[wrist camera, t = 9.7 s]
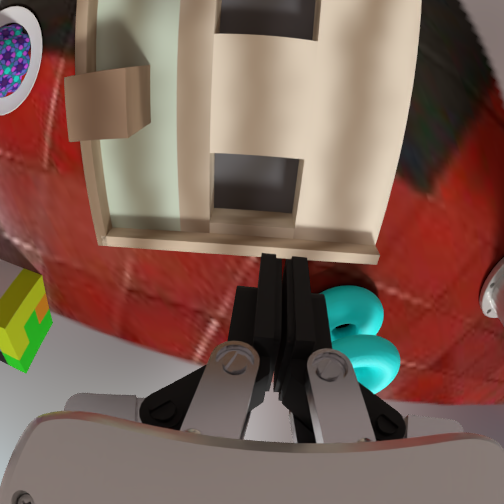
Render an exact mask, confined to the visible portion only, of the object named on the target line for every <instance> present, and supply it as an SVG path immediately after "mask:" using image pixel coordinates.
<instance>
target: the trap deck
mask: <svg viewBox="0 0 504 504" xmlns="http://www.w3.org/2000/svg"><path fill="white" fill-rule="evenodd" d="M420 17H421V0H77V11H76V31H75V75H79V74H84V73H89V72H95V71H101V70H108V69H116V68H124V67H133V66H143V65H150V105H151V123H150V124H148V125H147V126H145V127H144V128H142V129H141V130H139V131H138V132H136V133H135V134H133V135H132V136H130V137H129V138H123V139H103V140H88V141H80V144H81V152H82V160H83V167H84V174H85V180H86V186H87V192H88V198H89V203H90V208H91V213H92V218H93V223H94V228H95V232H96V237H97V241H98V245H102V246H116V247H129V248H143V249H157V250H171V251H185V252H199V253H213V254H227V255H241V256H256V257H261V254H262V253H269V254H276V258H285V259H291V258H292V256H297V257H307V260H314V261H329V262H344V263H360V264H375V265H377V262H378V259H379V257H380V254H379V252H378V250H377V248H376V246H375V244H376V241H377V238H378V234H379V231H380V228H381V224H382V221H383V218H384V214H385V211H386V207H387V203H388V200H389V196H390V192H391V188H392V184H393V181H394V177H395V172H396V168H397V164H398V160H399V155H400V151H401V146H402V142H403V137H404V132H405V127H406V122H407V117H408V111H409V106H410V100H411V94H412V88H413V81H414V74H415V67H416V59H417V50H418V41H419V30H420Z"/></svg>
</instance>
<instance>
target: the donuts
mask: <svg viewBox="0 0 504 504" xmlns="http://www.w3.org/2000/svg"><path fill="white" fill-rule="evenodd" d="M319 294H324V295H325V299H326V306H327V313H328V320H329V327H330V335H331V342H332V349H334V350H338V351H340V352H341V353H343V354H345V355H346V356H347V357H348V358H349V360H350V361H351V363H352V366H353V369H354V372H355V375H356V378H357V381H358V382H360V383H361V384H362V385H363V386H365V387H366V388H367V389H369V390H370V391H371V392H373V393H374V394H375V393H377V392H379V391H381V390H382V389H384V388H385V387H386V386H388V385H389V384H390V383H391V382H392V380H393V379H394V378H395V376H396V375H397V373H398V371H399V367H400V355H399V352H398V350H397V349H396V347H395V346H394V345H393V344H392V343H391V342H390V341H388V340H387V339H384V338H382V337H379V336H376V334H377V332H378V331H379V329H380V327H381V325H382V322H383V317H384V312H383V307H382V304H381V302H380V300H379V299H378V297H377V296H376V295H375V294H374V293H372V292H371V291H369V290H367V289H365V288H363V287H359V286H352V285H345V286H338V287H333V288H330V289H327V290H325V291H323V292H321V293H319ZM343 324H350V325H349V326H346V327H343V328H337V329H336V327H337V326H340V325H343Z"/></svg>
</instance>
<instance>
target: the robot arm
mask: <svg viewBox="0 0 504 504" xmlns="http://www.w3.org/2000/svg"><path fill="white" fill-rule="evenodd" d="M479 303H480V307H481V309H482V311H483V313H484V314H485V315H486V316H488V317H491V318H497V317H498V318H499V319H500V321H501V323H502V324H503V326H504V257H503V258H502V259H501V260H500V261H499V262H498V264H497V265H496V266H495V267H494V268H493V270H492V271H491V272H490V274H489V275H488V277H487V279H486V281H485V282H484V285H483V287H482V290H481V293H480V299H479ZM273 373H274V388H273V389H274V392H279V400H280V401H282V404H283V405H284V406H285V407H286V408H287V409H289V418H290V425H291V431H292V438H293V443H280V442H264V441H252V440H244V436H245V432H246V429H247V426H248V422H249V418H250V415H251V410H252V409H254V408H255V407H257V406H258V405H260V404H261V403H262V402H263V400H264V396H265V391H269V389H270V385H271V381H272V377H273ZM0 504H504V449H503V448H502V446H501V445H500V444H499V443H498V442H497V441H495V440H493V439H491V438H488V437H486V436H483V435H479V434H473V433H464V430H463V428H462V426H461V425H460V424H459V423H458V422H456V421H454V420H451V419H441V418H432V417H424V416H415V415H409V414H408V415H407V416H406V417H403V416H401V414H400V413H399V412H398V411H396V410H395V409H394V408H392V407H391V406H390V405H388V404H387V403H386V402H384V401H383V400H382V399H380V398H379V397H378V396H376V395H375V394H374V393H373V392H371V391H370V390H369V389H367V388H366V387H365V386H363V385H362V384H361V383H360V382H358V381H357V378H356V375H355V372H354V369H353V366H352V363H351V361H350V360H349V358H348V357H347V356H346V355H345V354H343V353H341V352H340V351H338V350H334V349H332V342H331V335H330V327H329V320H328V313H327V306H326V299H325V295H324V294H317V293H311V288H310V278H309V270H308V261H307V257H297V256H292V258H291V260H288V259H286V261H285V267H284V273H283V279H282V259H279V258H276V254H269V253H262V254H261V263H260V272H259V280H258V288H255V287H245V286H237V289H236V295H235V301H234V307H233V312H232V318H231V324H230V330H229V336H228V341H227V342H224V343H222V344H220V345H218V346H217V347H216V348H215V349H214V350H213V352H212V353H211V356H210V358H209V361H208V363H207V365H205V366H203V367H201V368H199V369H198V370H196V371H194V372H192V373H191V374H189V375H187V376H185V377H183V378H181V379H179V380H177V381H175V382H174V383H172V384H170V385H168V386H166V387H164V388H162V389H160V390H158V391H156V392H154V393H152V394H151V395H149V396H148V397H146V398H137V397H136V395H111V394H92V393H79V394H75V395H73V396H71V397H70V398H69V399H68V401H67V402H66V405H65V408H64V411H57V412H51V413H46V414H43V415H40V416H38V417H37V418H35V419H34V420H33V421H32V422H31V423H30V424H29V425H28V426H27V428H26V429H25V430H24V432H23V434H22V435H21V437H20V439H19V441H18V443H17V445H16V447H15V449H14V451H13V453H12V456H11V458H10V460H9V463H8V466H7V468H6V471H5V474H4V476H3V479H2V483H1V486H0Z"/></svg>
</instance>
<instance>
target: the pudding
mask: <svg viewBox="0 0 504 504" xmlns="http://www.w3.org/2000/svg"><path fill="white" fill-rule="evenodd" d="M8 23H19V24H20V25H22V26H23V27H24V28H25V29H26V30H27V32H28V34H29V36H28V35H27V34H23V32H22V27H21V26H20V25H19V24H13V25H10V26H6V25H5V24H8ZM3 25H5V26H3ZM1 26H3V27H1ZM29 37H30V38H29ZM30 41H31V60H30V58H29V55H28V50H29V48H30ZM41 57H42V35H41V29H40V26H39V23H38V21H37V19H36V18H35V16H34V15H33V14H32V13H31V12H30V11H29V10H28V9H26V8H24V7H20V6H13V7H9V8H6V9H4V10H2V11H0V115H5V114H8V113H10V112H12V111H13V110H15V109H16V108H17V107H18V106H19V105H21V104H22V102H23V101H24V100H25V99H26V97H27V96H28V94H29V92H30V91H31V89H32V87H33V85H34V82H35V80H36V77H37V74H38V71H39V68H40V63H41ZM29 63H30V65H29ZM28 67H29V68H28ZM27 70H28V72H27ZM26 72H27V74H26V76H25V79H24V80H23V82H22V84H21V77H22V76H23V75H24V74H25V73H26ZM20 84H21V85H20ZM19 86H20V87H19ZM18 87H19V88H18ZM15 90H16V91H15ZM14 91H15V92H14ZM7 92H14V93H13V94H11V95H10V96H7V97H4V96H5V95H6V94H7ZM1 97H4V98H1Z"/></svg>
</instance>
